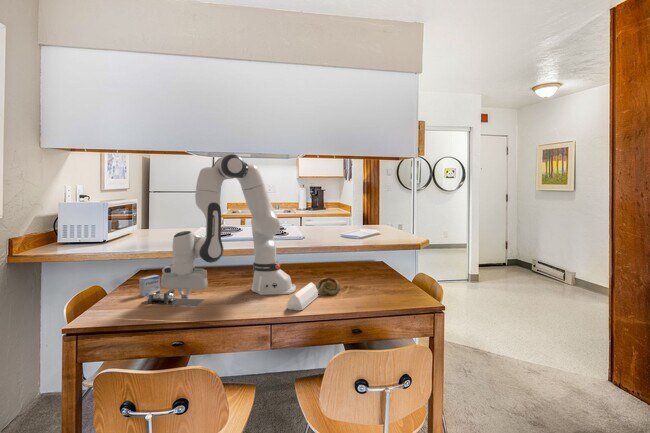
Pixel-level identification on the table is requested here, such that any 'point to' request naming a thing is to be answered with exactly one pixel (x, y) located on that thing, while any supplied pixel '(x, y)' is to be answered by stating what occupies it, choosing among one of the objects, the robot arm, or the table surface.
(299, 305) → the white chamfered bar
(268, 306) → the table surface
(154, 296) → the tube
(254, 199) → the robot arm
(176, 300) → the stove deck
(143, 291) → the medicine box
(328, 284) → the pastry
